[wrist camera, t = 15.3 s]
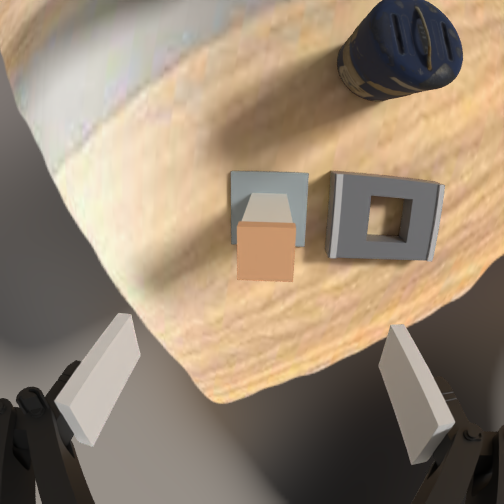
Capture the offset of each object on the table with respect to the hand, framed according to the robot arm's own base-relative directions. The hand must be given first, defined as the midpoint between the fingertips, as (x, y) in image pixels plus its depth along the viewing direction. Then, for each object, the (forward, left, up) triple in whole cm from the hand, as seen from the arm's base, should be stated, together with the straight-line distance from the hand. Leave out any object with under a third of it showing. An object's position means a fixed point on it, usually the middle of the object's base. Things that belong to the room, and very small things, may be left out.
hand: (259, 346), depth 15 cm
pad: (0, 0, -29) cm, 29 cm away
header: (+16, 0, -29) cm, 33 cm away
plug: (0, 0, -28) cm, 28 cm away
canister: (+13, +20, -29) cm, 37 cm away
